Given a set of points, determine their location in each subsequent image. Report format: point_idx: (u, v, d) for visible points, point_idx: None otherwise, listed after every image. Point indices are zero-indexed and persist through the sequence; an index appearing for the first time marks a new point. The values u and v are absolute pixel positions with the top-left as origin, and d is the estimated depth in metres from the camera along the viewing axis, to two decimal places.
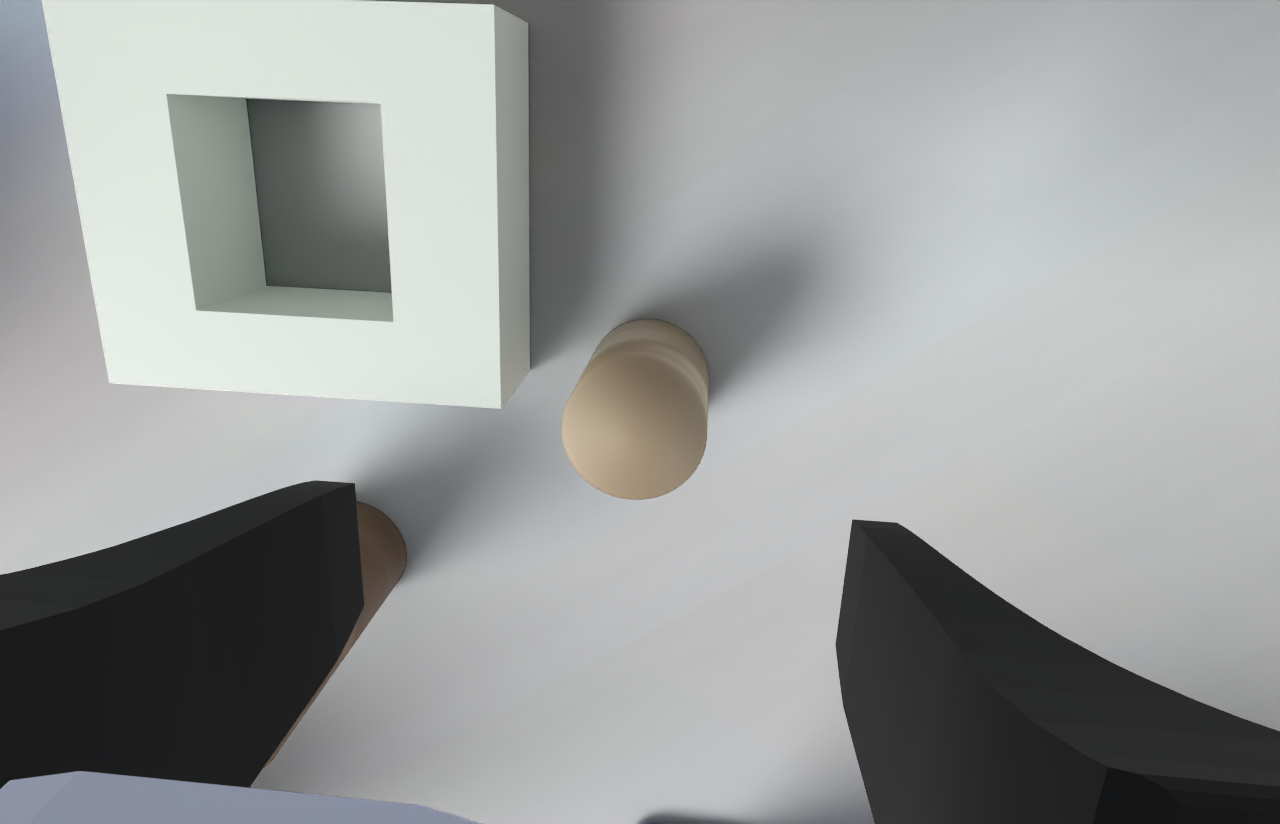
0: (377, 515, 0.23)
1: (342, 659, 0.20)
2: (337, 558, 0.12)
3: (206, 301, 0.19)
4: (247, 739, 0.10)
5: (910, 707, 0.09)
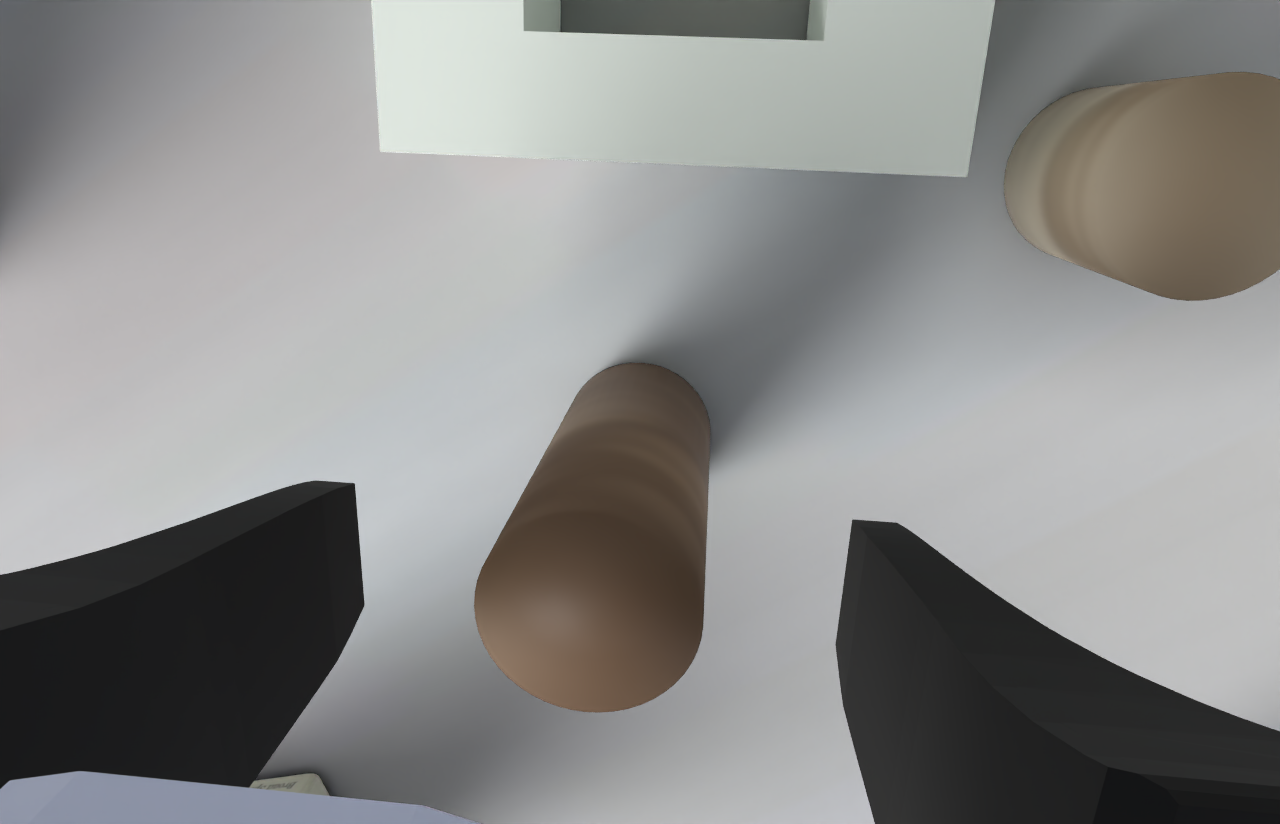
0: (681, 381, 0.17)
1: None
2: (337, 558, 0.12)
3: (529, 26, 0.13)
4: (247, 739, 0.10)
5: (909, 707, 0.09)
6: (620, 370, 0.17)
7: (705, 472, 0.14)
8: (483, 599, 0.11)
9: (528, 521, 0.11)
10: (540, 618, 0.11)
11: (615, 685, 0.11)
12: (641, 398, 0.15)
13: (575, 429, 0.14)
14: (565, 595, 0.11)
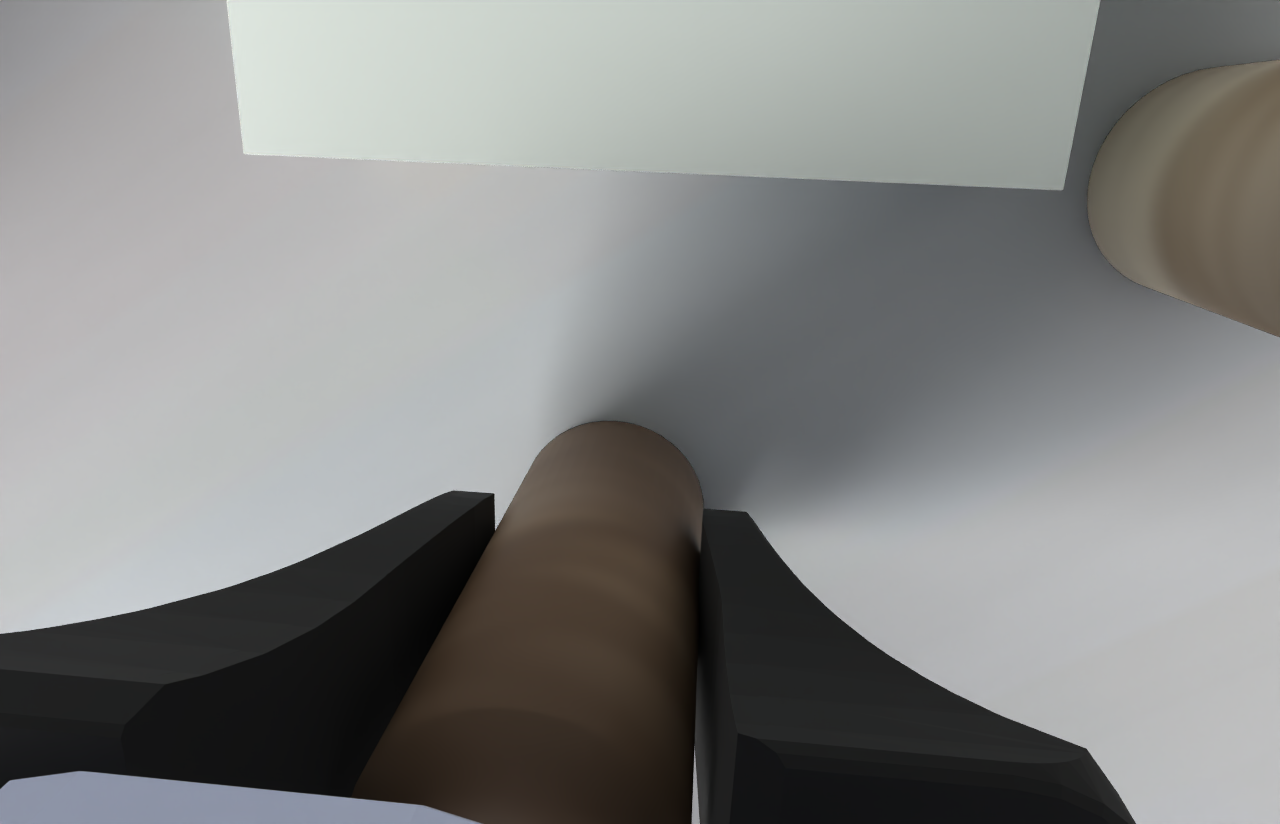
0: (666, 445, 0.13)
1: None
2: None
3: None
4: None
5: (712, 689, 0.09)
6: (587, 433, 0.13)
7: (695, 582, 0.11)
8: None
9: (422, 720, 0.07)
10: None
11: None
12: (611, 481, 0.11)
13: (518, 532, 0.10)
14: None
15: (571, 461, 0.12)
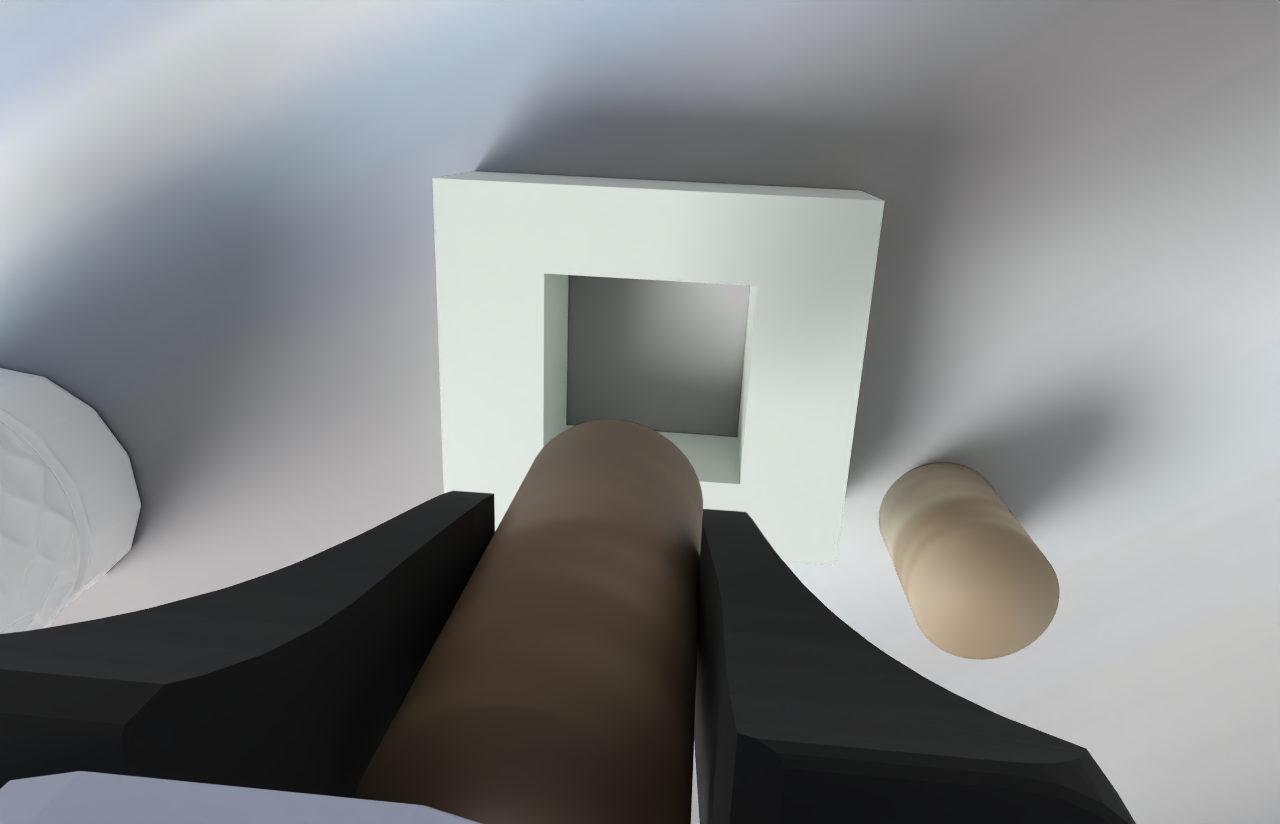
0: (666, 444, 0.13)
1: None
2: None
3: None
4: None
5: (712, 689, 0.09)
6: (589, 431, 0.13)
7: (695, 580, 0.11)
8: None
9: (426, 717, 0.07)
10: None
11: None
12: (612, 479, 0.11)
13: (520, 530, 0.10)
14: (486, 819, 0.07)
15: (572, 459, 0.12)
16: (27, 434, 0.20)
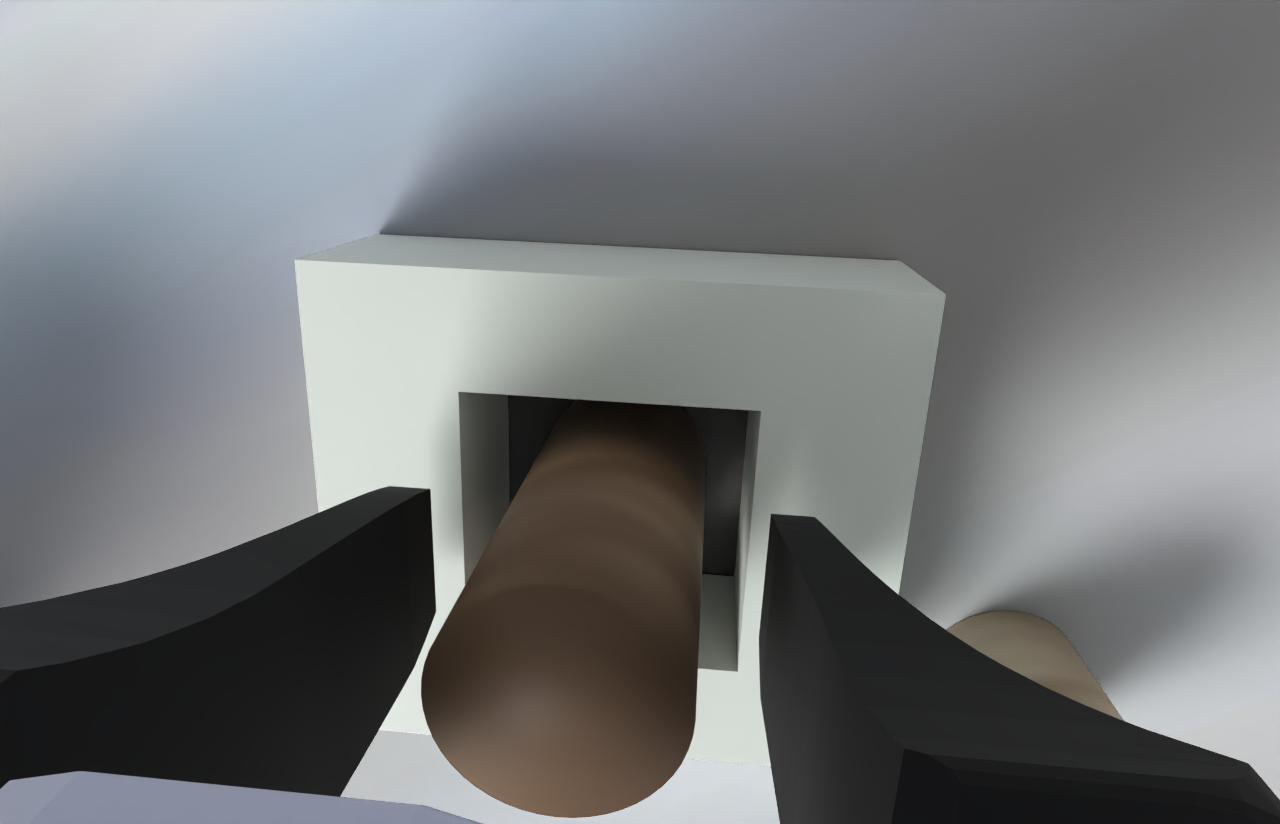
0: (674, 406, 0.15)
1: None
2: (415, 564, 0.11)
3: None
4: (339, 748, 0.10)
5: (802, 697, 0.09)
6: None
7: (700, 516, 0.13)
8: (431, 685, 0.09)
9: (484, 596, 0.09)
10: (500, 709, 0.09)
11: (590, 787, 0.09)
12: (627, 431, 0.13)
13: (550, 469, 0.12)
14: (530, 683, 0.09)
15: (592, 416, 0.14)
16: None
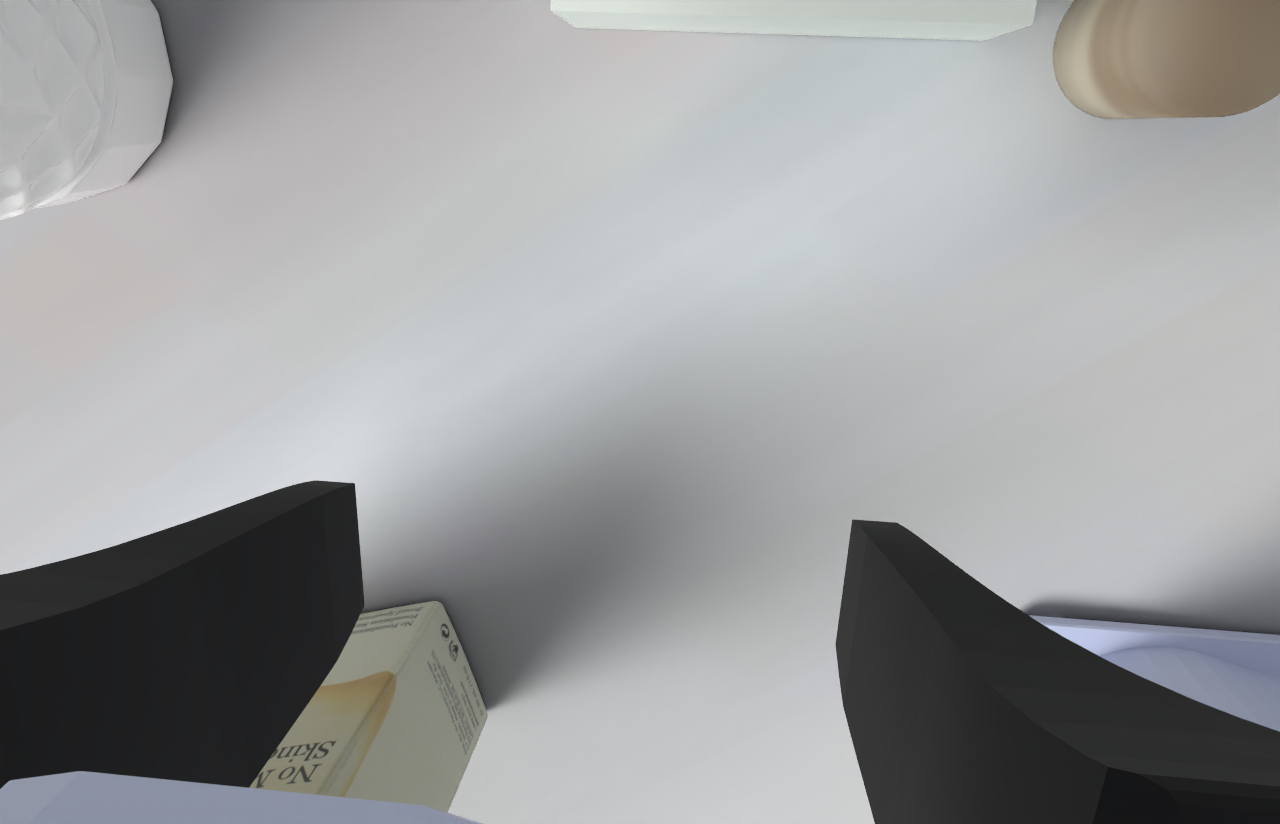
0: None
1: None
2: (337, 558, 0.12)
3: None
4: (247, 739, 0.10)
5: (910, 707, 0.09)
6: None
7: None
8: None
9: None
10: None
11: None
12: None
13: None
14: None
15: None
16: None
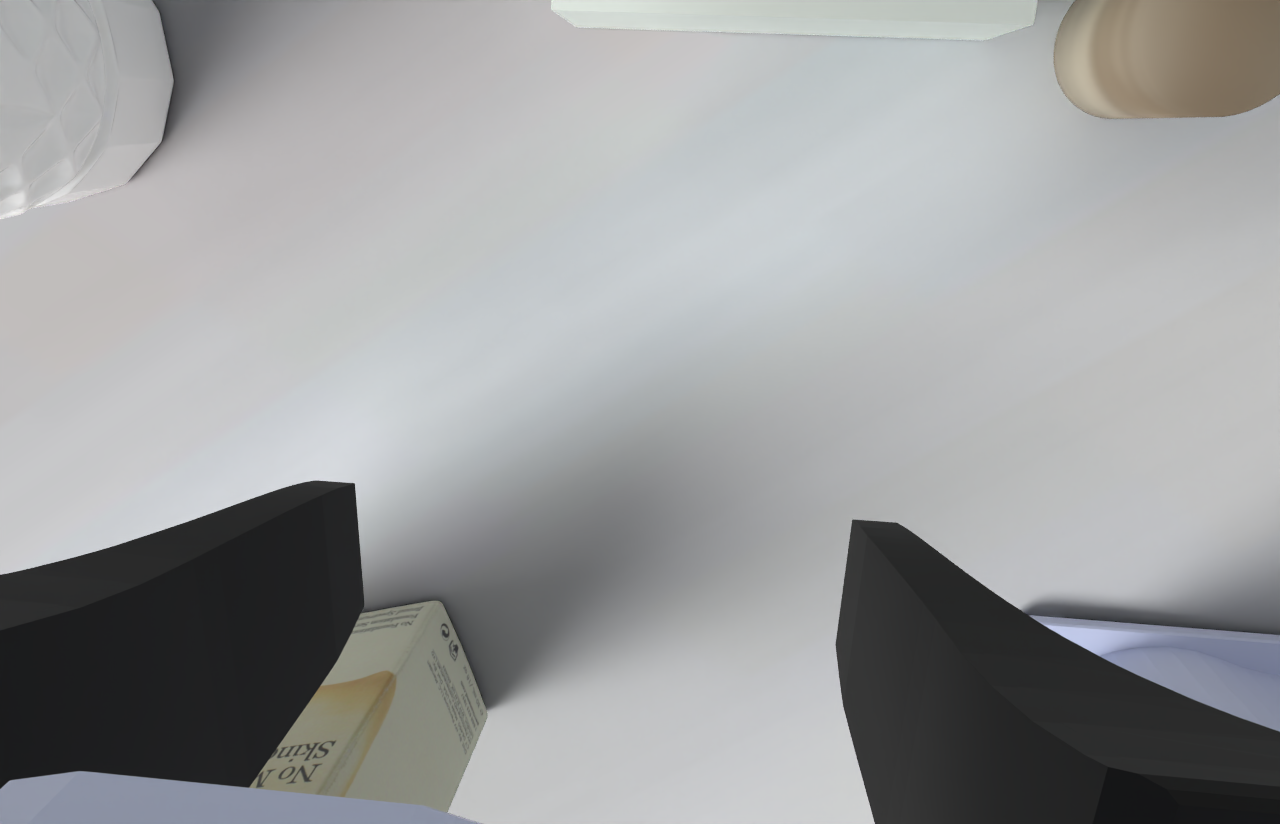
0: None
1: None
2: (337, 558, 0.12)
3: None
4: (247, 739, 0.10)
5: (910, 707, 0.09)
6: None
7: None
8: None
9: None
10: None
11: None
12: None
13: None
14: None
15: None
16: None
